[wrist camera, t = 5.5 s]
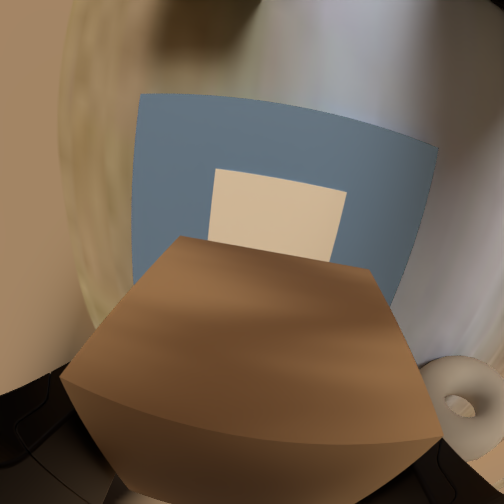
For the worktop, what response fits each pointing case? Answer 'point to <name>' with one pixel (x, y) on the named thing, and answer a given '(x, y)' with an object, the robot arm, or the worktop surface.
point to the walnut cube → (252, 381)
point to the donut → (474, 391)
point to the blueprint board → (276, 183)
